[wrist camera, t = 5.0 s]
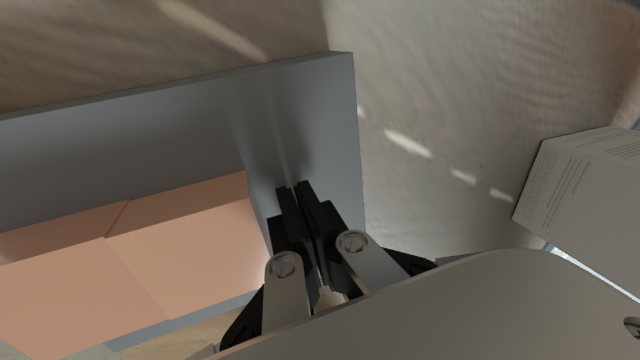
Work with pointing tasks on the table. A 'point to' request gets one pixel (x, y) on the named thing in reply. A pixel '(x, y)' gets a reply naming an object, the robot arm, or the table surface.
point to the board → (189, 148)
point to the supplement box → (589, 201)
